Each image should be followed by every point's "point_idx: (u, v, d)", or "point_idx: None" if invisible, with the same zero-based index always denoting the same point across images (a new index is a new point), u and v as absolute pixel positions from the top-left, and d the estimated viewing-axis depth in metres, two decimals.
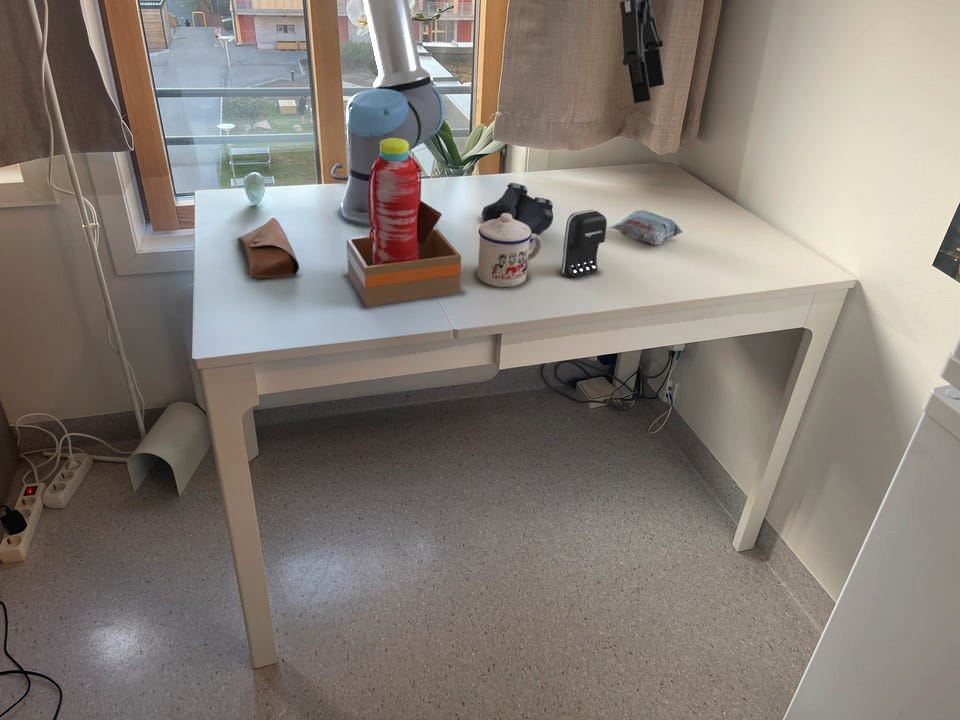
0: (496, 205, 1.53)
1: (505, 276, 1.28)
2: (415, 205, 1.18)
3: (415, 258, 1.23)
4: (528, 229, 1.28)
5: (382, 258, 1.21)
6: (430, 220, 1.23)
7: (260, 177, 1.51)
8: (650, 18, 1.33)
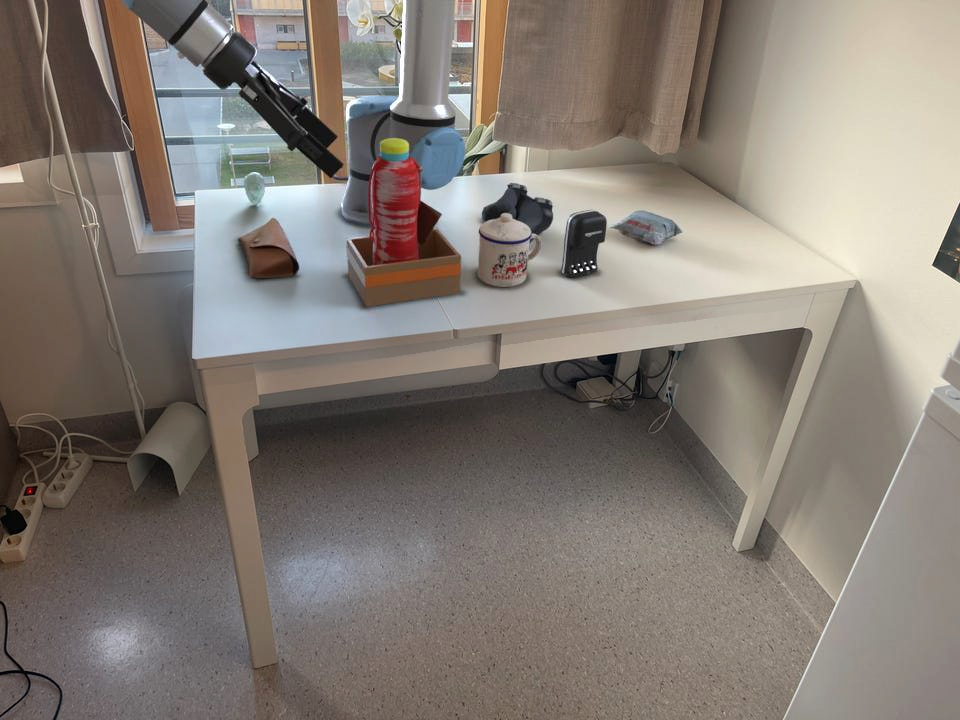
0: (496, 205, 1.53)
1: (505, 276, 1.28)
2: (415, 205, 1.18)
3: (415, 258, 1.23)
4: (528, 229, 1.28)
5: (382, 258, 1.21)
6: (430, 220, 1.23)
7: (260, 177, 1.51)
8: None
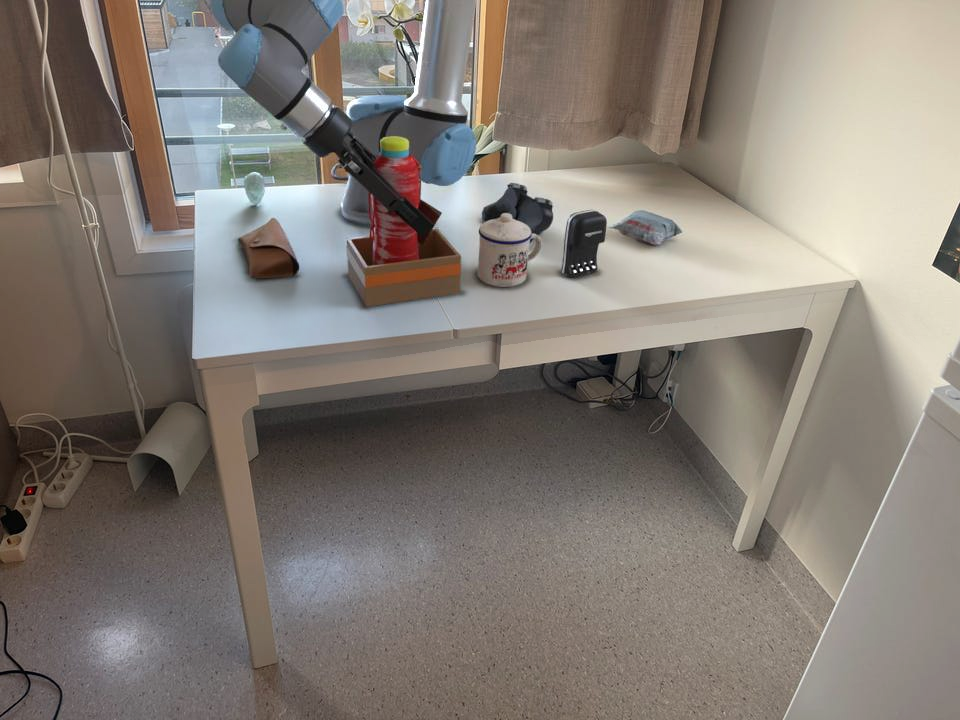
0: (496, 205, 1.53)
1: (505, 276, 1.28)
2: (415, 203, 1.18)
3: (415, 256, 1.23)
4: (528, 229, 1.28)
5: (383, 256, 1.21)
6: (430, 219, 1.23)
7: (260, 177, 1.51)
8: None
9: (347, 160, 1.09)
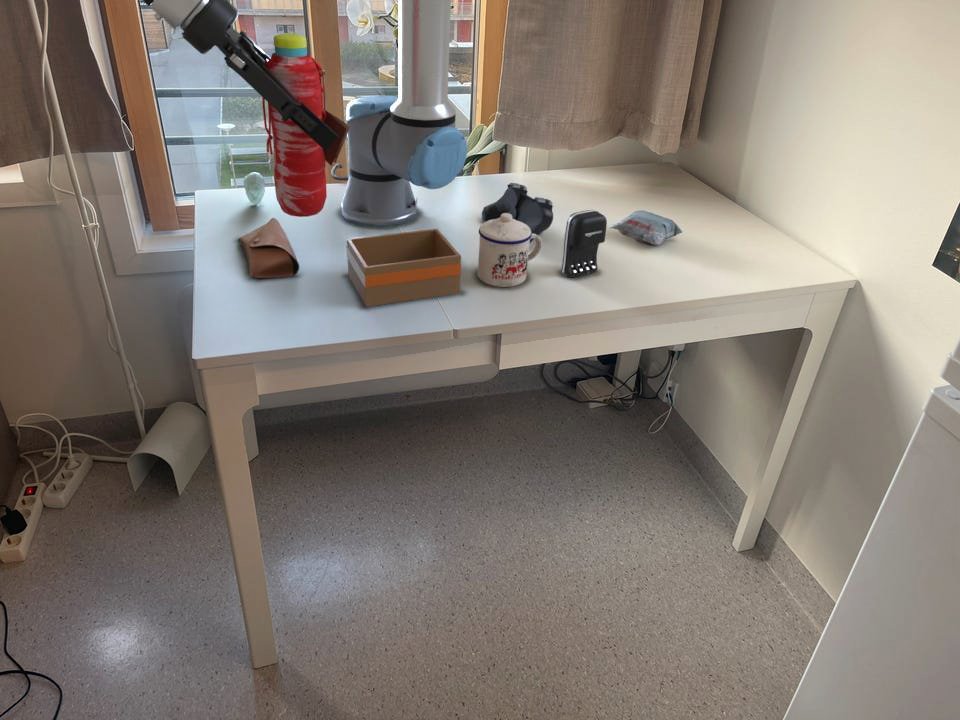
0: (496, 205, 1.53)
1: (505, 276, 1.28)
2: (316, 111, 1.05)
3: (321, 175, 1.10)
4: (528, 229, 1.28)
5: (282, 174, 1.08)
6: (338, 134, 1.10)
7: (260, 177, 1.51)
8: None
9: (230, 54, 0.96)
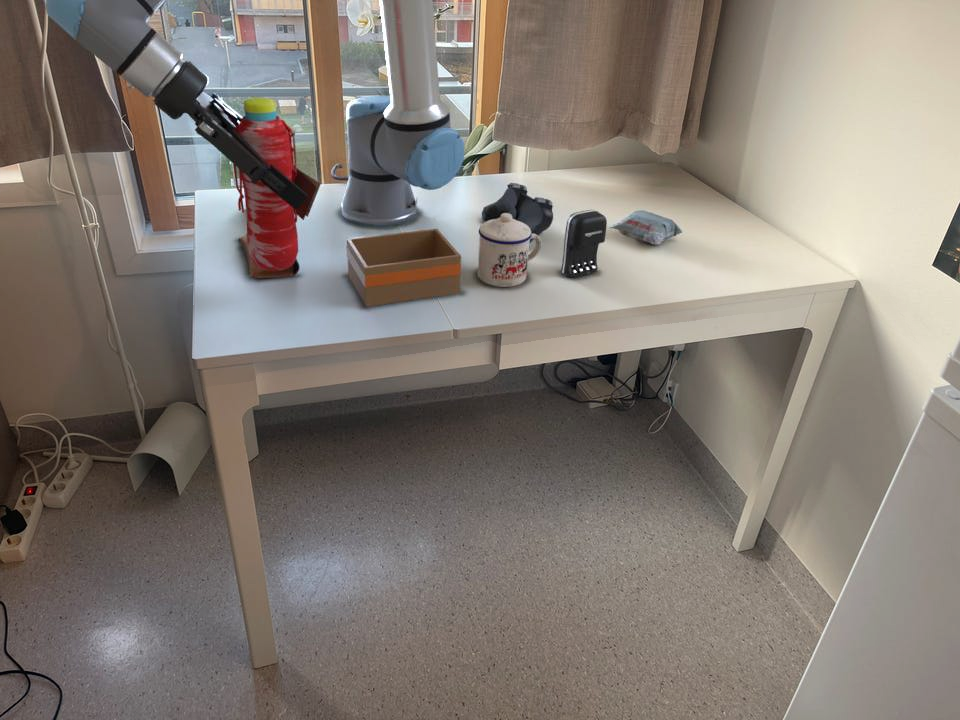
0: (496, 205, 1.53)
1: (505, 276, 1.28)
2: (286, 171, 1.08)
3: (292, 231, 1.13)
4: (528, 229, 1.28)
5: (254, 231, 1.11)
6: (308, 191, 1.13)
7: None
8: None
9: (200, 121, 0.99)
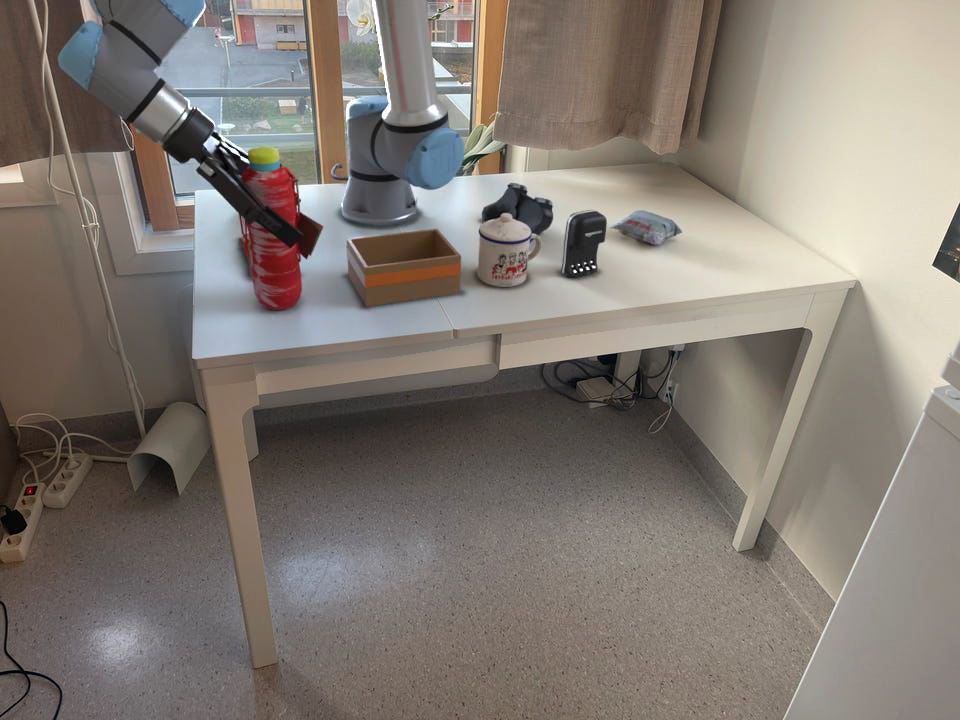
0: (496, 205, 1.53)
1: (505, 276, 1.28)
2: (290, 217, 1.11)
3: (296, 273, 1.17)
4: (528, 229, 1.28)
5: (259, 274, 1.14)
6: (312, 233, 1.16)
7: None
8: None
9: None
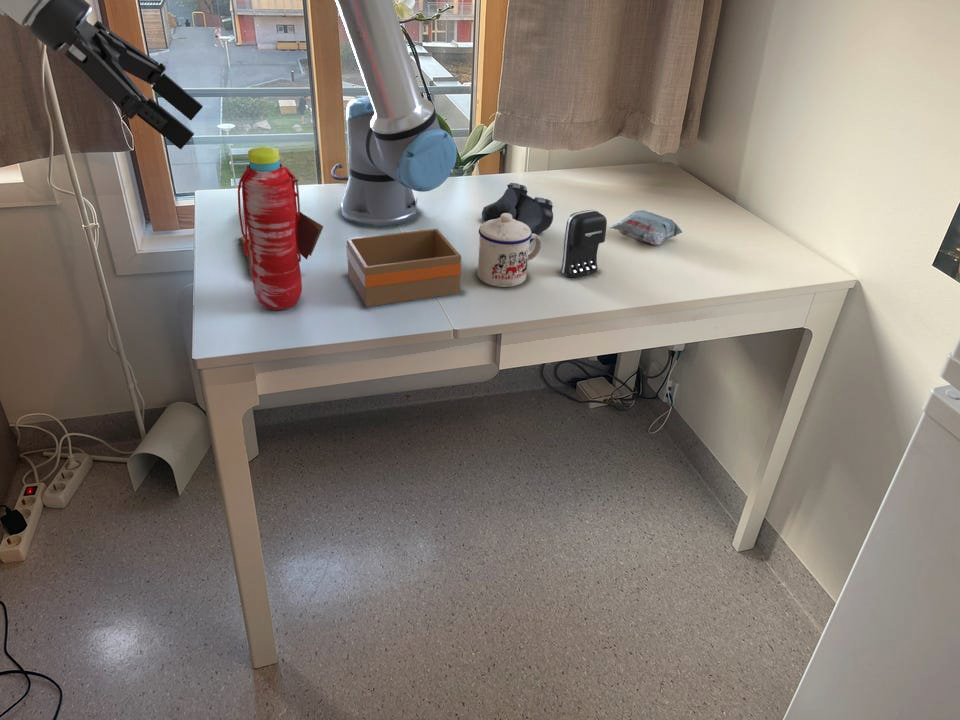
0: (496, 205, 1.53)
1: (505, 276, 1.28)
2: (290, 217, 1.11)
3: (296, 273, 1.17)
4: (528, 229, 1.28)
5: (259, 274, 1.14)
6: (311, 233, 1.16)
7: None
8: None
9: None
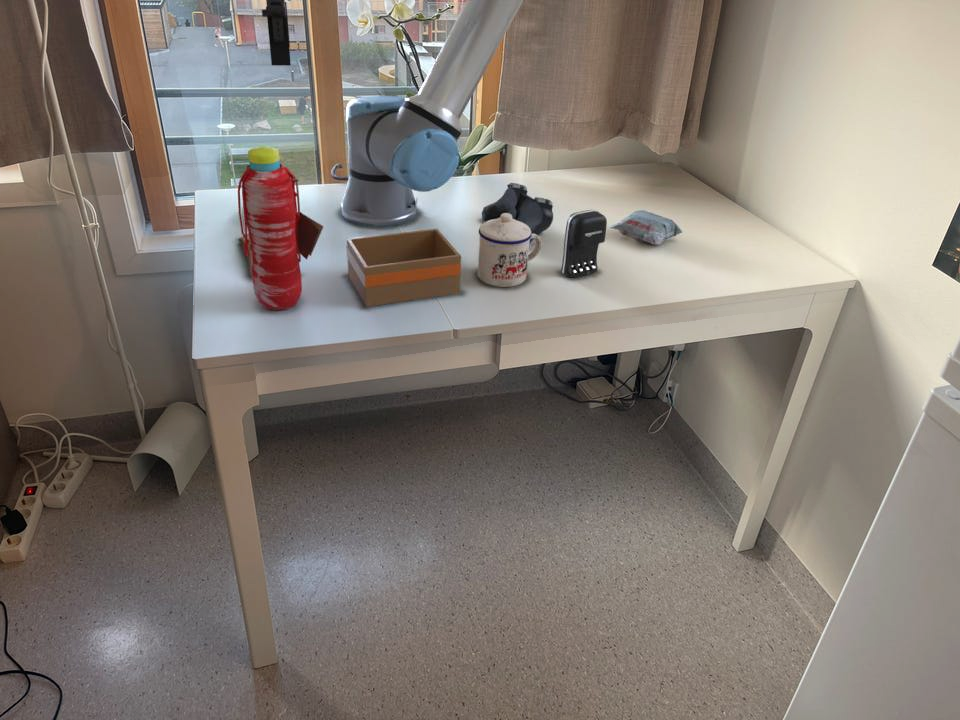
0: (496, 205, 1.53)
1: (505, 276, 1.28)
2: (290, 217, 1.11)
3: (296, 273, 1.17)
4: (528, 229, 1.28)
5: (259, 274, 1.14)
6: (312, 233, 1.16)
7: None
8: None
9: None
